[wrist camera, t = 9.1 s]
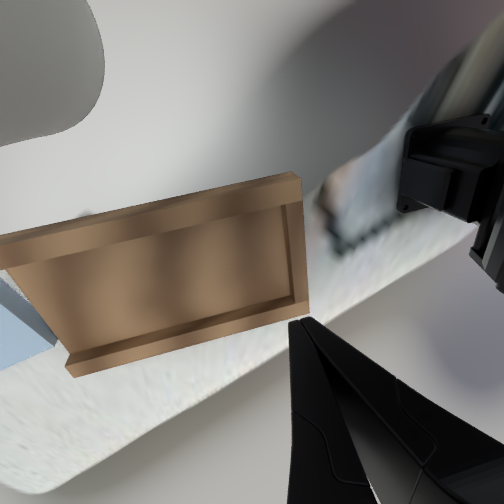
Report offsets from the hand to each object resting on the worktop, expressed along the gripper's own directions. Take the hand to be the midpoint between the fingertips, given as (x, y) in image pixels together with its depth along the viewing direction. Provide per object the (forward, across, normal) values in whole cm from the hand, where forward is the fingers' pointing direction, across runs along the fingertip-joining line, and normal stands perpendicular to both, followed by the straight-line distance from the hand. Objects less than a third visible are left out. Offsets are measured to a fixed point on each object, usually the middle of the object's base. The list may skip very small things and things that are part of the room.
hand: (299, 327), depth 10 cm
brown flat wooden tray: (+12, +6, +4) cm, 14 cm away
